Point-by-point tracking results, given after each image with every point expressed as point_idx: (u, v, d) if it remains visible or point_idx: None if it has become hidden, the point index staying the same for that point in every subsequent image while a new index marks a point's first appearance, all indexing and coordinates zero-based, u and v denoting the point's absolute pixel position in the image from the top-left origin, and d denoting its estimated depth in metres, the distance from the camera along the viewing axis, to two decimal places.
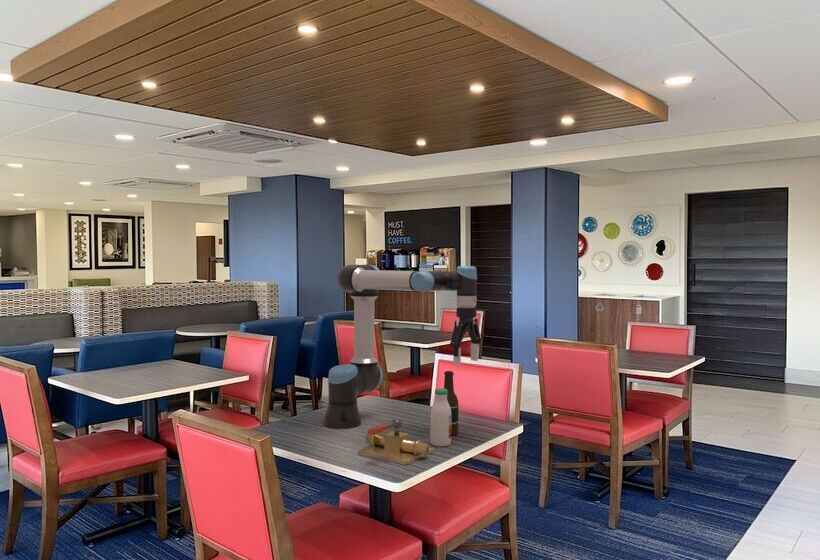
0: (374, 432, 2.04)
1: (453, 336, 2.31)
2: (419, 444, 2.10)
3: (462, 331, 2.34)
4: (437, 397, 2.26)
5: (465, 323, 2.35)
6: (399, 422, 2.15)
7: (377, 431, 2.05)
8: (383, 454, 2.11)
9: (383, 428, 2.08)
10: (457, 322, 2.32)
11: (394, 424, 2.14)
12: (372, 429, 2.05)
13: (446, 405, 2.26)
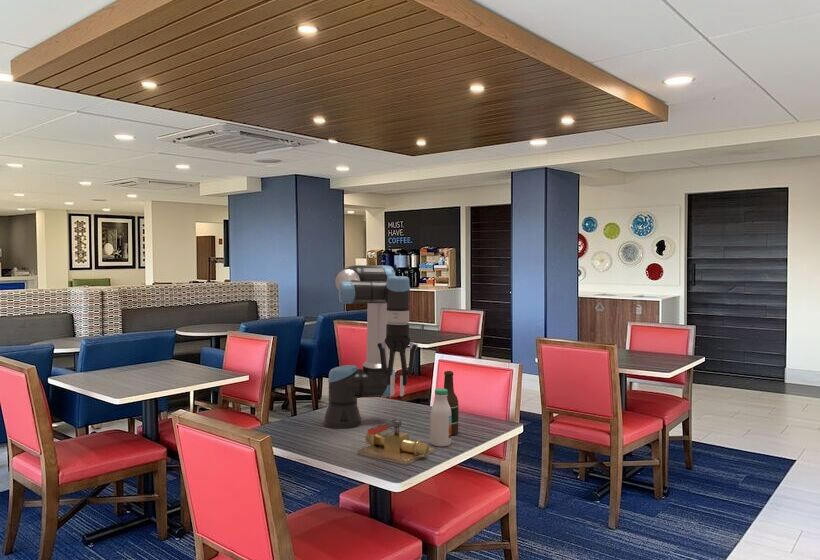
0: (374, 432, 2.04)
1: None
2: (419, 444, 2.10)
3: (390, 354, 2.05)
4: (437, 397, 2.26)
5: (389, 341, 2.04)
6: (399, 422, 2.15)
7: (377, 431, 2.05)
8: (383, 454, 2.11)
9: (383, 428, 2.08)
10: None
11: (394, 424, 2.14)
12: (372, 429, 2.05)
13: (446, 405, 2.26)
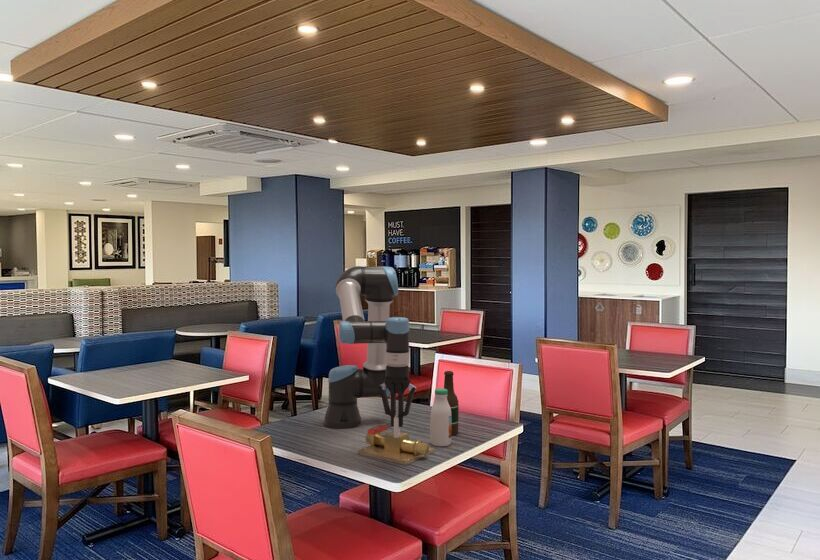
0: (374, 432, 2.04)
1: None
2: (419, 444, 2.10)
3: None
4: (437, 397, 2.26)
5: (388, 382, 2.05)
6: None
7: (377, 431, 2.05)
8: (383, 454, 2.11)
9: (383, 428, 2.08)
10: None
11: None
12: (372, 429, 2.05)
13: (446, 405, 2.26)
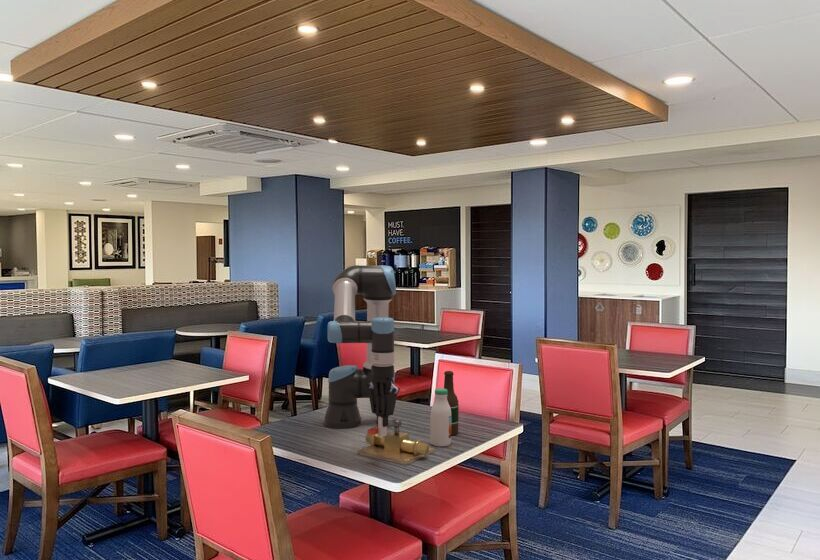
0: (374, 432, 2.04)
1: None
2: (419, 444, 2.10)
3: None
4: (437, 397, 2.26)
5: (374, 381, 2.07)
6: (399, 422, 2.15)
7: (377, 431, 2.05)
8: (383, 454, 2.11)
9: None
10: None
11: (394, 424, 2.14)
12: (372, 429, 2.05)
13: (446, 405, 2.26)
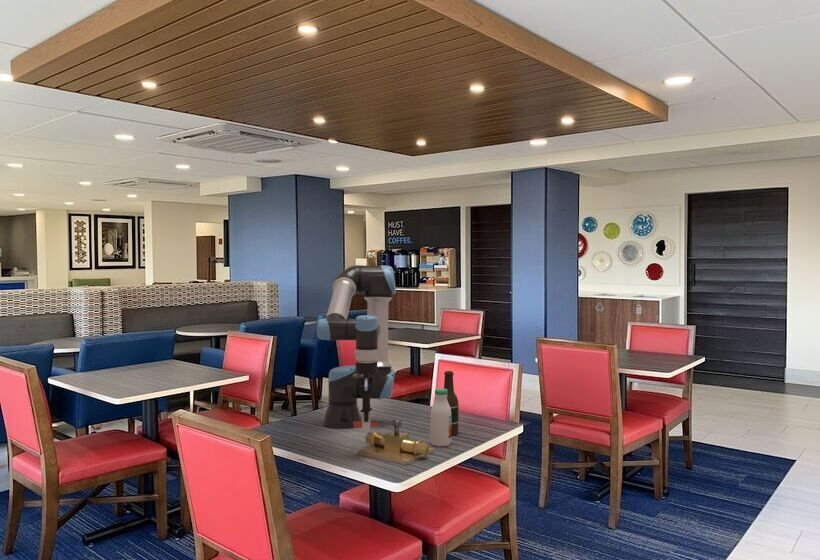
0: (355, 425, 2.13)
1: None
2: (419, 444, 2.10)
3: None
4: (437, 397, 2.26)
5: None
6: (395, 422, 2.15)
7: (360, 425, 2.13)
8: (383, 454, 2.11)
9: (370, 423, 2.14)
10: None
11: (389, 423, 2.15)
12: (356, 422, 2.14)
13: (446, 405, 2.26)
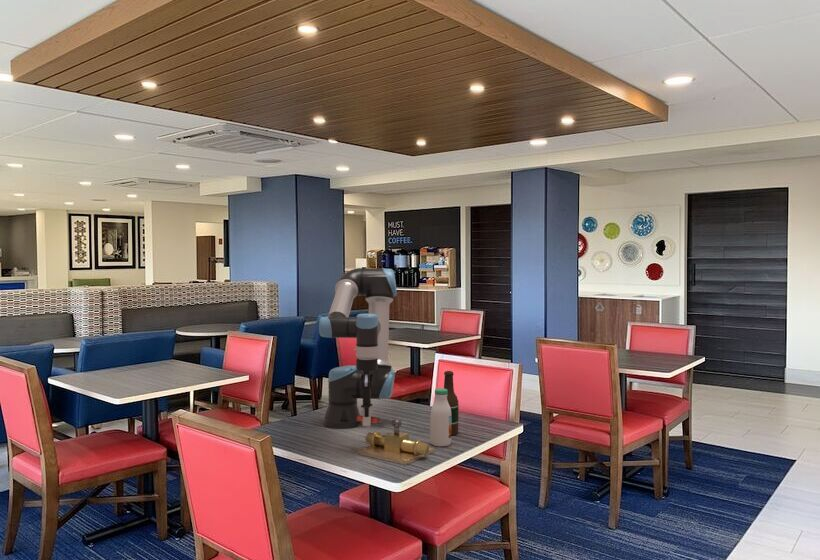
0: (358, 419, 2.21)
1: None
2: (419, 444, 2.10)
3: None
4: (437, 397, 2.26)
5: None
6: (393, 422, 2.15)
7: (362, 419, 2.21)
8: (383, 454, 2.11)
9: (371, 419, 2.19)
10: None
11: (388, 422, 2.17)
12: (361, 416, 2.22)
13: (446, 405, 2.26)
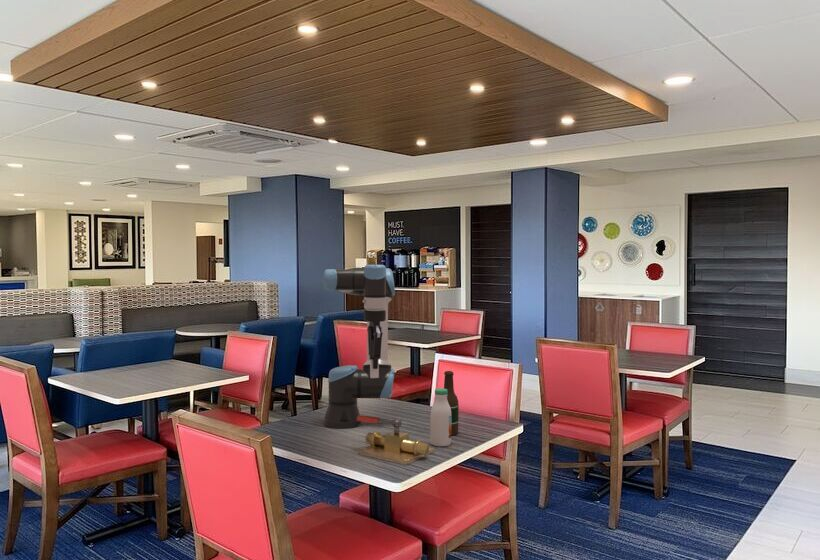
0: (358, 419, 2.21)
1: None
2: (419, 444, 2.10)
3: None
4: (437, 397, 2.26)
5: (369, 325, 2.18)
6: (393, 422, 2.15)
7: (362, 419, 2.21)
8: (383, 454, 2.11)
9: (371, 419, 2.19)
10: None
11: (388, 422, 2.17)
12: (361, 416, 2.22)
13: (446, 405, 2.26)
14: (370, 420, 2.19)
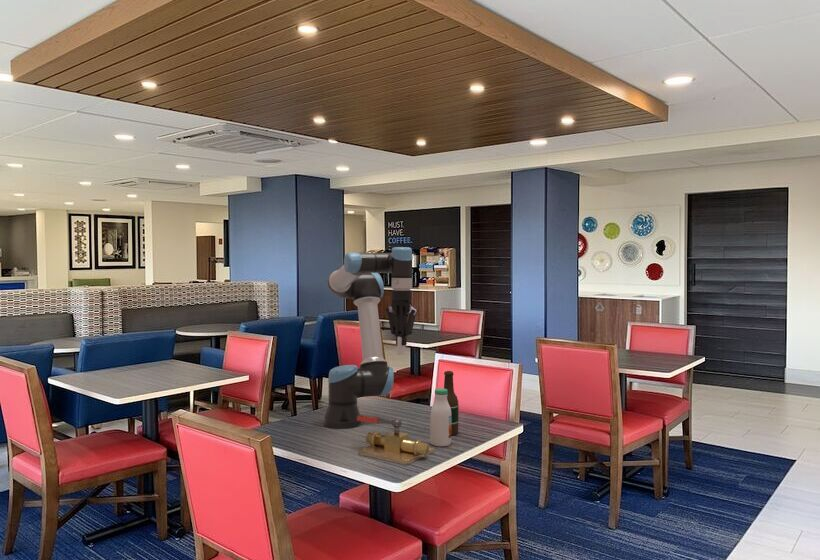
0: (358, 419, 2.21)
1: None
2: (419, 444, 2.10)
3: None
4: (437, 397, 2.26)
5: (393, 305, 2.28)
6: (393, 422, 2.15)
7: (362, 419, 2.21)
8: (383, 454, 2.11)
9: (371, 419, 2.19)
10: None
11: (388, 422, 2.17)
12: (361, 416, 2.22)
13: (446, 405, 2.26)
14: (370, 420, 2.19)
